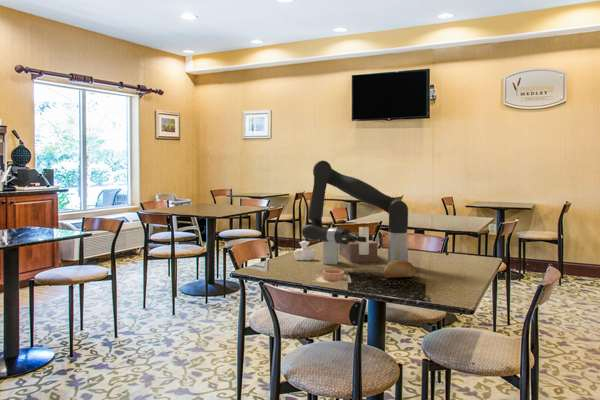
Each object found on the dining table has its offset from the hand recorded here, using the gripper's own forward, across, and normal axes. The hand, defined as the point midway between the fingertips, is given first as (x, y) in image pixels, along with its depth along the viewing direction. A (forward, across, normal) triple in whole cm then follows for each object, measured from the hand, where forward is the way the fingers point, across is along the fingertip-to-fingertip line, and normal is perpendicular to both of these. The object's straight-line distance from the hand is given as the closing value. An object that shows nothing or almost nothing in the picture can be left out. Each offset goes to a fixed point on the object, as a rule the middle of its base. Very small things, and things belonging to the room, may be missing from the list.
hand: (368, 239), depth 215 cm
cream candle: (-3, 0, +7) cm, 8 cm away
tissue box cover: (-33, +37, +18) cm, 53 cm away
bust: (-51, +14, +18) cm, 56 cm away
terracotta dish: (-8, -16, +16) cm, 24 cm away
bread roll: (+9, +10, +18) cm, 23 cm away
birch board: (-8, -16, +18) cm, 25 cm away
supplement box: (-35, +16, +18) cm, 42 cm away
